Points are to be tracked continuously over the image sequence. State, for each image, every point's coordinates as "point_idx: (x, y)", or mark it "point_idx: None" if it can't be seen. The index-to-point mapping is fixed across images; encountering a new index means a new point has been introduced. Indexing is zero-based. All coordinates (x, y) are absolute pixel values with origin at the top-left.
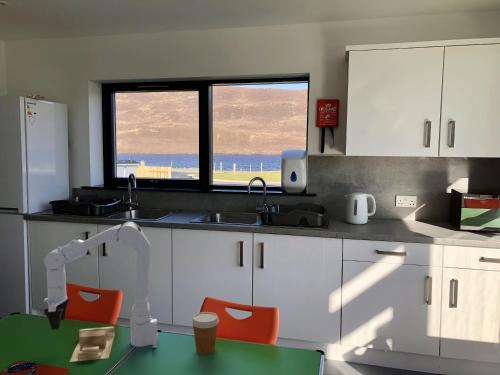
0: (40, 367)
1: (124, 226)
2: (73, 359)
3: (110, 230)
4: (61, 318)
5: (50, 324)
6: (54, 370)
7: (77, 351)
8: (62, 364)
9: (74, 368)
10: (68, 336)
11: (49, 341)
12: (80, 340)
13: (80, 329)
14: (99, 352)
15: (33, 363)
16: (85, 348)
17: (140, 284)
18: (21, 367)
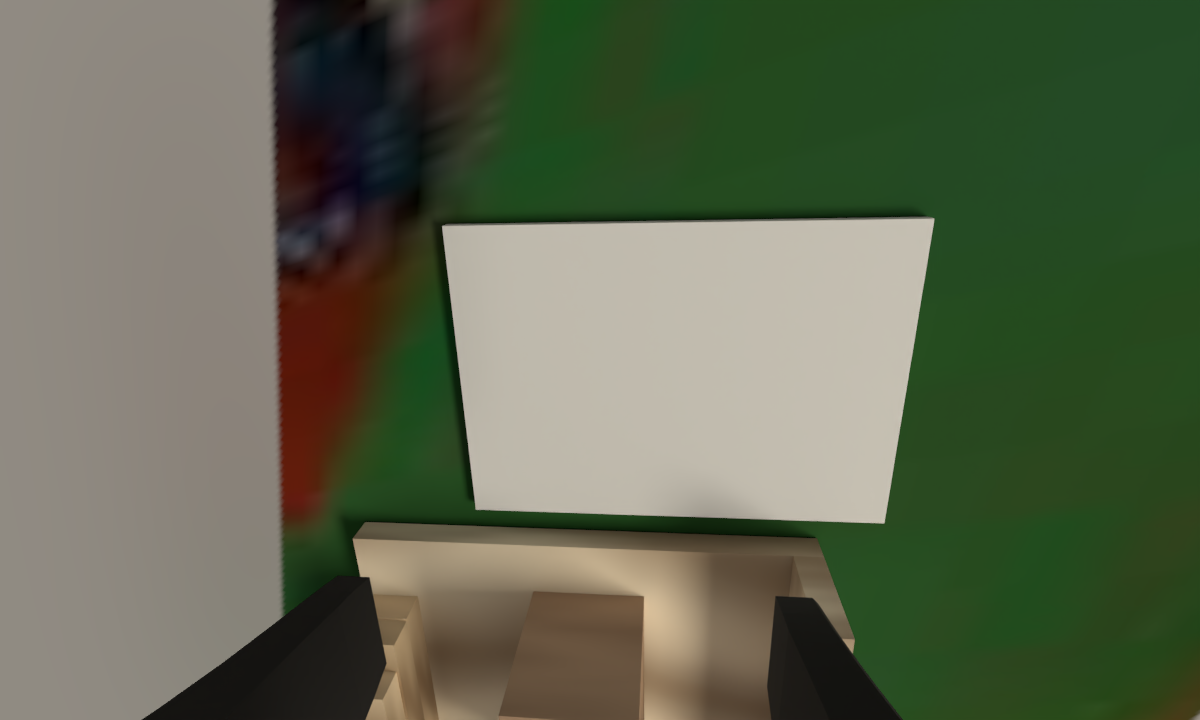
0: (328, 296)
1: None
2: (391, 561)
3: None
4: (777, 677)
5: (245, 648)
6: (278, 427)
7: (534, 572)
8: (374, 468)
9: (310, 561)
10: (1003, 410)
11: (939, 222)
12: (508, 686)
13: (850, 648)
14: (492, 718)
15: (407, 201)
16: (369, 718)
17: None
18: (331, 97)
